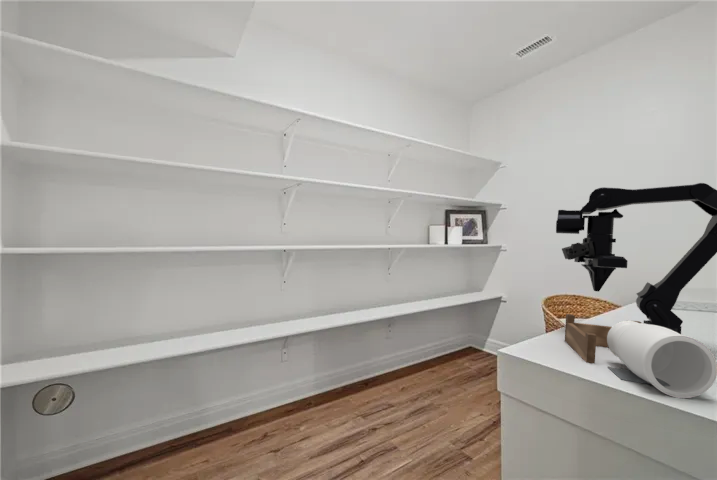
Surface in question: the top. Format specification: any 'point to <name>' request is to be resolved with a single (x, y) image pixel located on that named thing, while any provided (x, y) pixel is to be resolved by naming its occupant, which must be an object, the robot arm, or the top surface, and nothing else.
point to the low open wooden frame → (585, 337)
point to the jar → (664, 358)
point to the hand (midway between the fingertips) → (596, 291)
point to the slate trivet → (632, 376)
